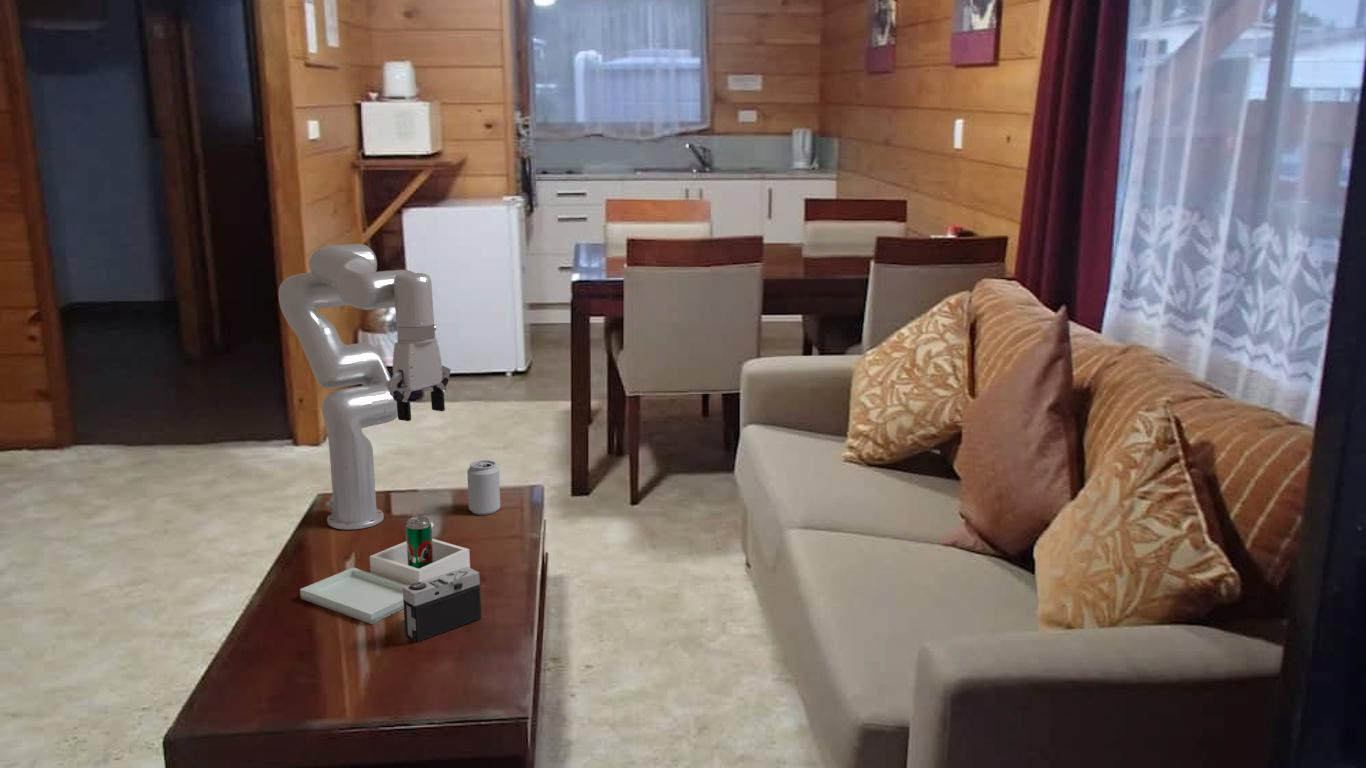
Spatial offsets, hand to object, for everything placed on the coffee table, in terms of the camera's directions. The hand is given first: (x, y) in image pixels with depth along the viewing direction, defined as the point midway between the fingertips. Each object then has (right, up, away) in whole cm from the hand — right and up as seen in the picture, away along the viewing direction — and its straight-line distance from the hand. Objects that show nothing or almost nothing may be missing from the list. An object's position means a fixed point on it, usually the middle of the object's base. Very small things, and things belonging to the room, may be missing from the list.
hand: (421, 415), depth 223 cm
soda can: (+1, -33, -3) cm, 33 cm away
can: (+7, -24, +35) cm, 43 cm away
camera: (+9, -38, -24) cm, 46 cm away
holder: (+1, -33, -3) cm, 33 cm away
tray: (-8, -35, -14) cm, 39 cm away
